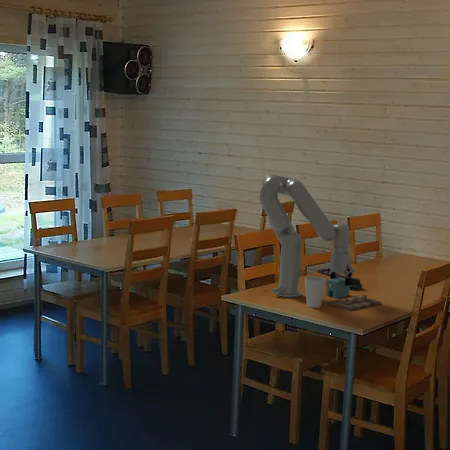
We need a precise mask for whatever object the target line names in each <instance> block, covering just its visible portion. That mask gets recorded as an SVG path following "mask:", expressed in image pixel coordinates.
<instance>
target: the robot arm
mask: <svg viewBox="0 0 450 450" xmlns="http://www.w3.org/2000/svg"><path fill="white" fill-rule="evenodd" d="M261 185H262V186H261V189H260V193H259V201H260V204H261V207H262V208H263V211H264V212H265V215H266V217H267V218H268V223H269V226H270V228H271V229H272V231H273V233H274V235H275V236H276V238H277V240H278V241H279V243H280V246H281V248H280V259H279V263H280V264H279V281H278V283H279V284H278V285H277V287H274V288H271V292H272V293H273V294H274V293H275V294H276V296H278V297H282V298H298V297H301V296H302V291H299V286H300V285H299V284H300V267H301V266H300V265H301V251H302V243H303V242H302V238H301V236H300V234H299V233H298V231H296V230H295V228H294V226H293V224H292V222H291V220H290V216H289V215H288V214H287V212H286V210H285V209H284V207H283V205H282V204H281V202H280V200H279V197H278V194H281V195H288V196H289V197H290V198H291V200H292V201H293V203H294V204H295V206H296V207H297V208H298V210H299V211H300V213H301V214H302V216H304V217H305V219H307V221H309V223H310V224H311V225H312V226H313V228H314V229H315V230H316V234H317V236H318V237H319V238H320V239H321V240H323V241H324V242H331V241H332V246H331V247H332V251H331V253H330V258H329V263H327V264H326V267H327V268H326V269H328V271H329V274H330V276H329V279H334V278H336V274H334V273H338V274H340V275H342V274H343V275H344V276H345V277H346V278H345V286H348V285H350V279H351V277H352V278H353V275H354V273H355V272H356V270H355V268H354V267H352V266H351V265H352V264H351V263H352V262H351V257H350V256H351V255H350V252H349V251H350V250H349V246H350V243H349V241H350V226H349V225H348V224H346V223H337V224H333V223H331V222H330V220H329V218H327V216H326V215H325V214H324V212H323V210H322V209H321V208H320V206H319V205H318V204H317V202H316V200H315V199H314V198H313V197H312V195H311V193H310V192H309V191H308V189H307V188H306V186H305V185H304V184H303V183H302V181H301V180H298V179H296V178H292V177H291V178H290V177H286V176H283V175H282V176H281V175H277V174H271V173H270V174H267V175H264V177H263V178H262V179H261Z"/></svg>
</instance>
